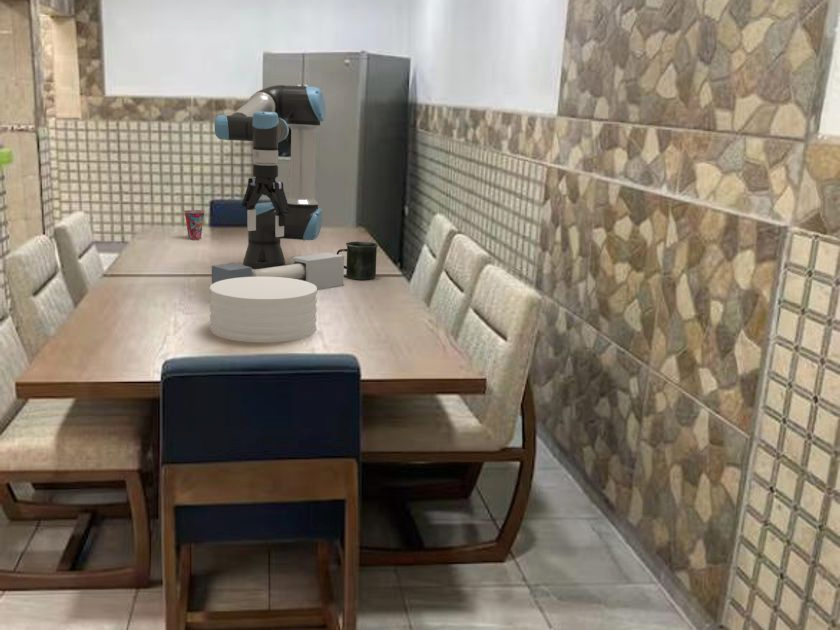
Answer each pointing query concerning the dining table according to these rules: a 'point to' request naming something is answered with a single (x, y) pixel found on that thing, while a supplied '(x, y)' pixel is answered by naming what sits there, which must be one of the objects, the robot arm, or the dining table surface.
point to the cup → (194, 223)
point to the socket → (230, 271)
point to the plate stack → (263, 309)
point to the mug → (360, 260)
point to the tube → (282, 271)
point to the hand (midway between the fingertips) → (265, 233)
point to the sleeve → (322, 269)
